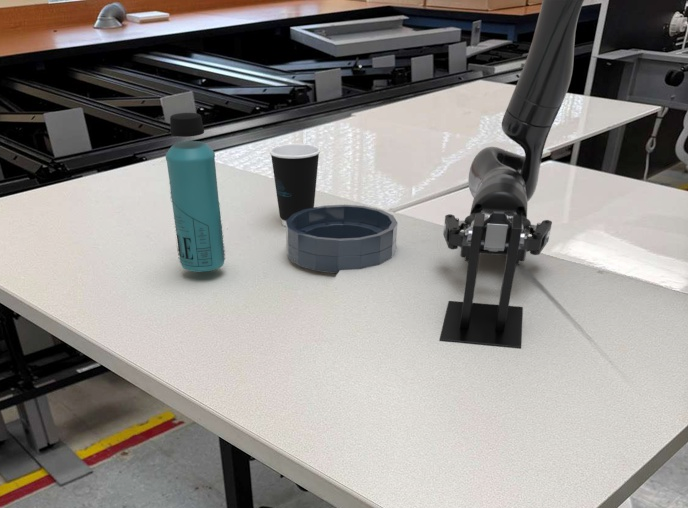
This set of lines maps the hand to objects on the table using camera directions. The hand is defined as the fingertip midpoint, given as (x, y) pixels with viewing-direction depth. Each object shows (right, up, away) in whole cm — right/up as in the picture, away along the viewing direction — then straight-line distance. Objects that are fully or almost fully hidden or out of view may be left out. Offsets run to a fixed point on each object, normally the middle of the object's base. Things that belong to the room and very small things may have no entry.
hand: (492, 255), depth 86 cm
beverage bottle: (-37, +2, +14) cm, 40 cm away
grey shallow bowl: (-17, +6, +18) cm, 26 cm away
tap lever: (-1, -1, -3) cm, 3 cm away
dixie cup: (-24, +16, +31) cm, 42 cm away
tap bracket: (-2, -10, -1) cm, 10 cm away
